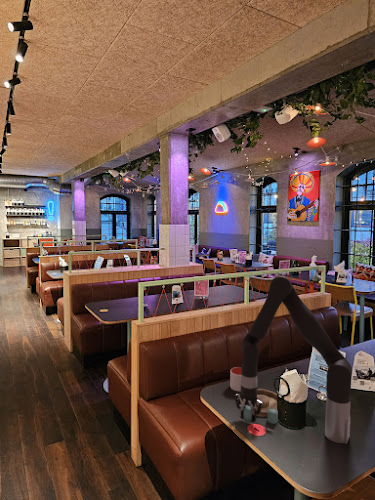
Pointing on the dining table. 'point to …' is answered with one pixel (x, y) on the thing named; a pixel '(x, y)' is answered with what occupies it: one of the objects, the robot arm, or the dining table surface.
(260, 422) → the dining table surface
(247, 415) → the bead
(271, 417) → the bead
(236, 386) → the cup
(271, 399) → the tray
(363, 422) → the dining table surface
